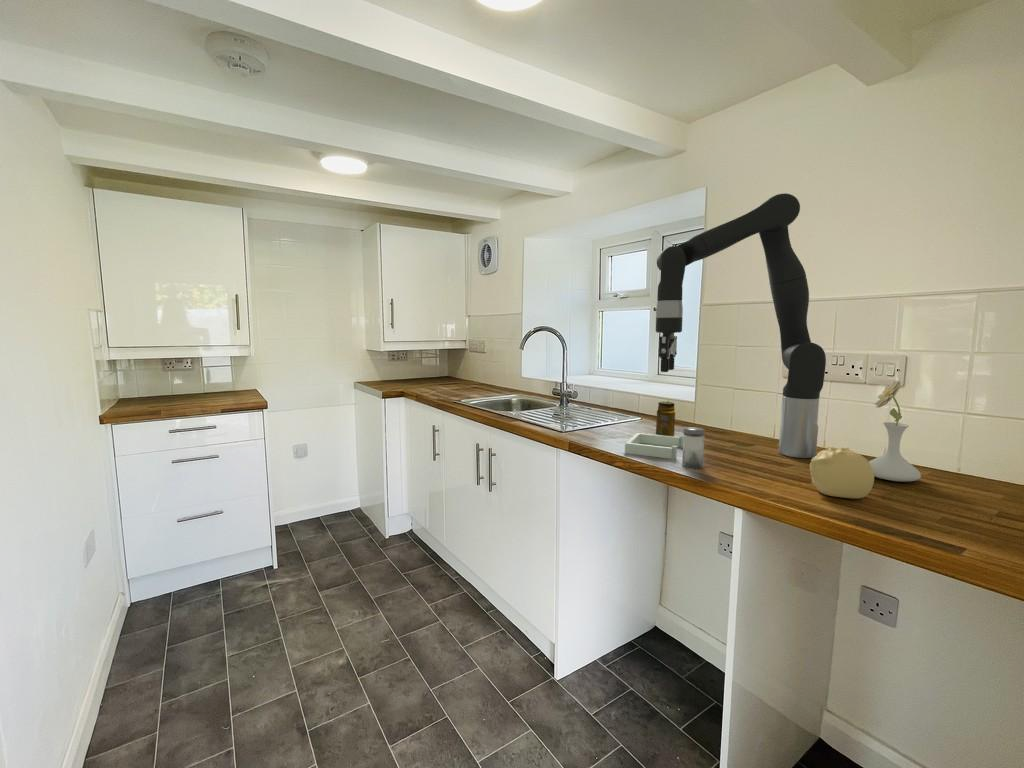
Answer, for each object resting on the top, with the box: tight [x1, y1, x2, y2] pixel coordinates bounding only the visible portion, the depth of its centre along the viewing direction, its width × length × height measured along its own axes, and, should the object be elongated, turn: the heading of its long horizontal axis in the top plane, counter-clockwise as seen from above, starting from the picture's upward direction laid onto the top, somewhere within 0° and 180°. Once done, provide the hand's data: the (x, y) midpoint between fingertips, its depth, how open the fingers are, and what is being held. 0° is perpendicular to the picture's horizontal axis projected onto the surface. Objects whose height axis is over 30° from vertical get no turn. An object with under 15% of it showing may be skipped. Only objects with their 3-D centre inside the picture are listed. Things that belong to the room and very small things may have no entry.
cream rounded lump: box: [809, 446, 875, 499], centre depth 106 cm, size 12×12×11 cm
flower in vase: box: [868, 379, 922, 483], centre depth 116 cm, size 13×11×25 cm
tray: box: [624, 432, 684, 460], centre depth 145 cm, size 15×16×4 cm
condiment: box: [655, 401, 679, 437], centre depth 162 cm, size 7×8×12 cm
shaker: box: [681, 426, 706, 470], centre depth 128 cm, size 5×5×10 cm
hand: (667, 370), depth 143 cm, fingers open, 8 cm apart
